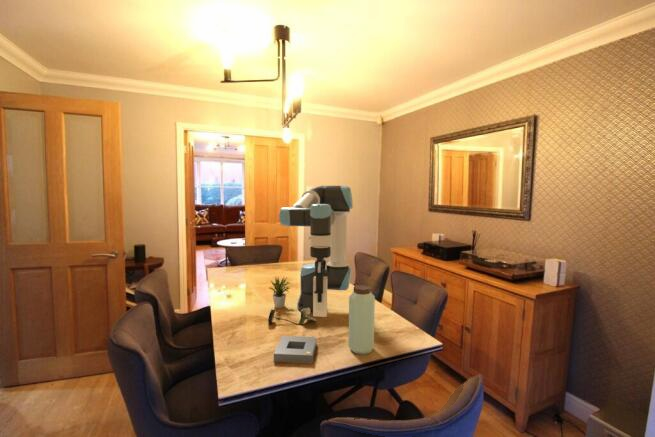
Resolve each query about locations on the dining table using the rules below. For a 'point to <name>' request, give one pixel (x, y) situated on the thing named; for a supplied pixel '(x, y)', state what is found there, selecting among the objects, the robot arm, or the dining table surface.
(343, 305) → the dining table surface
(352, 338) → the water bottle
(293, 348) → the socket
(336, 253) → the robot arm
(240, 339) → the dining table surface
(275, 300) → the house plant
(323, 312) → the cream long rectangular block
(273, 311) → the artificial flower
